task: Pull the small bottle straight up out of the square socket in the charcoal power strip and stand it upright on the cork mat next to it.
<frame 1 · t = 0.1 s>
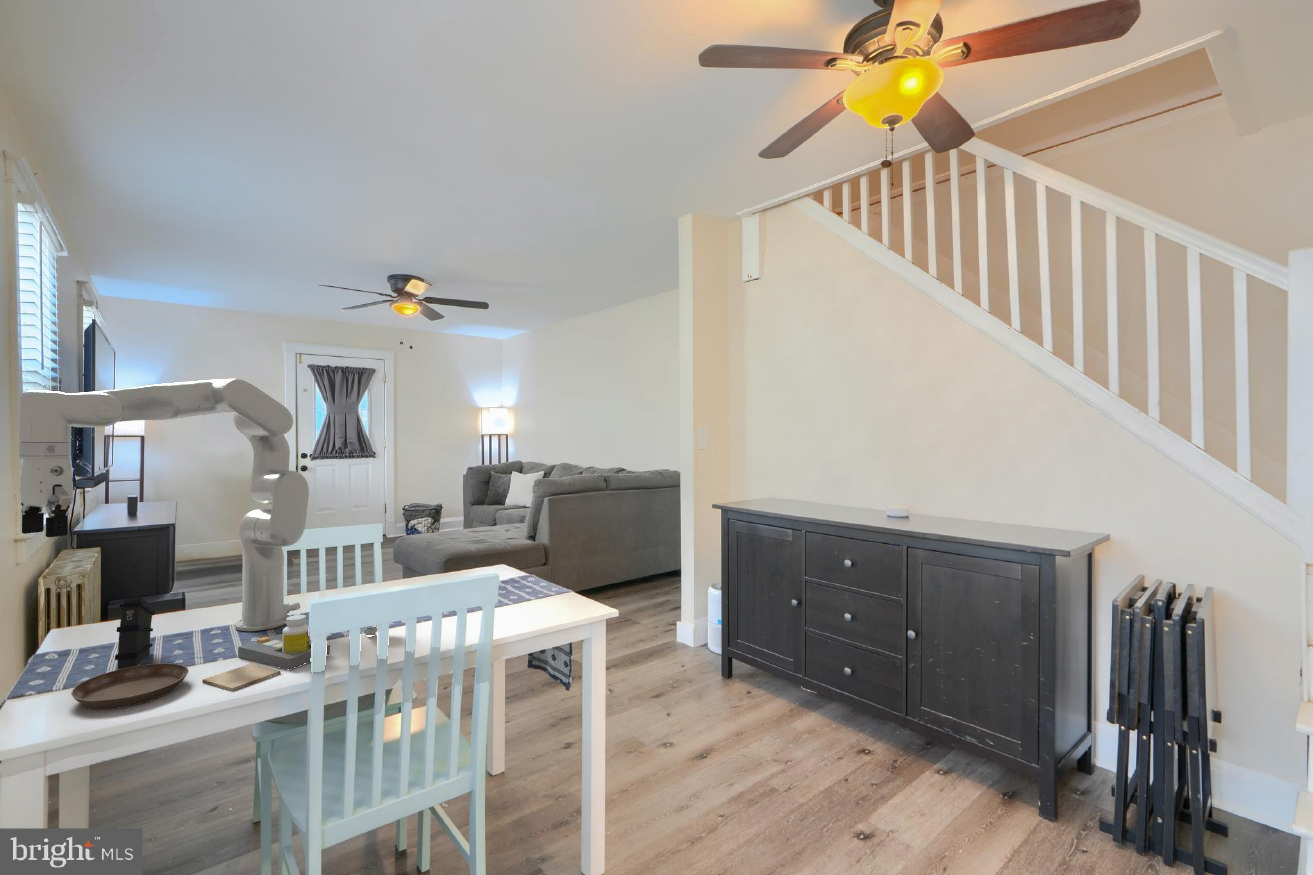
hand: (44, 534, 123), 31 cm above the table, tool pointing down, fingers open, 9 cm apart
power strip: (284, 656, 141), on the table
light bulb: (370, 636, 156), on the table
cork mat: (242, 677, 128), on the table
plant saucer: (132, 695, 120), on the table
supplement bottle: (295, 660, 139), resting in power strip
magazine: (135, 661, 138), on the table
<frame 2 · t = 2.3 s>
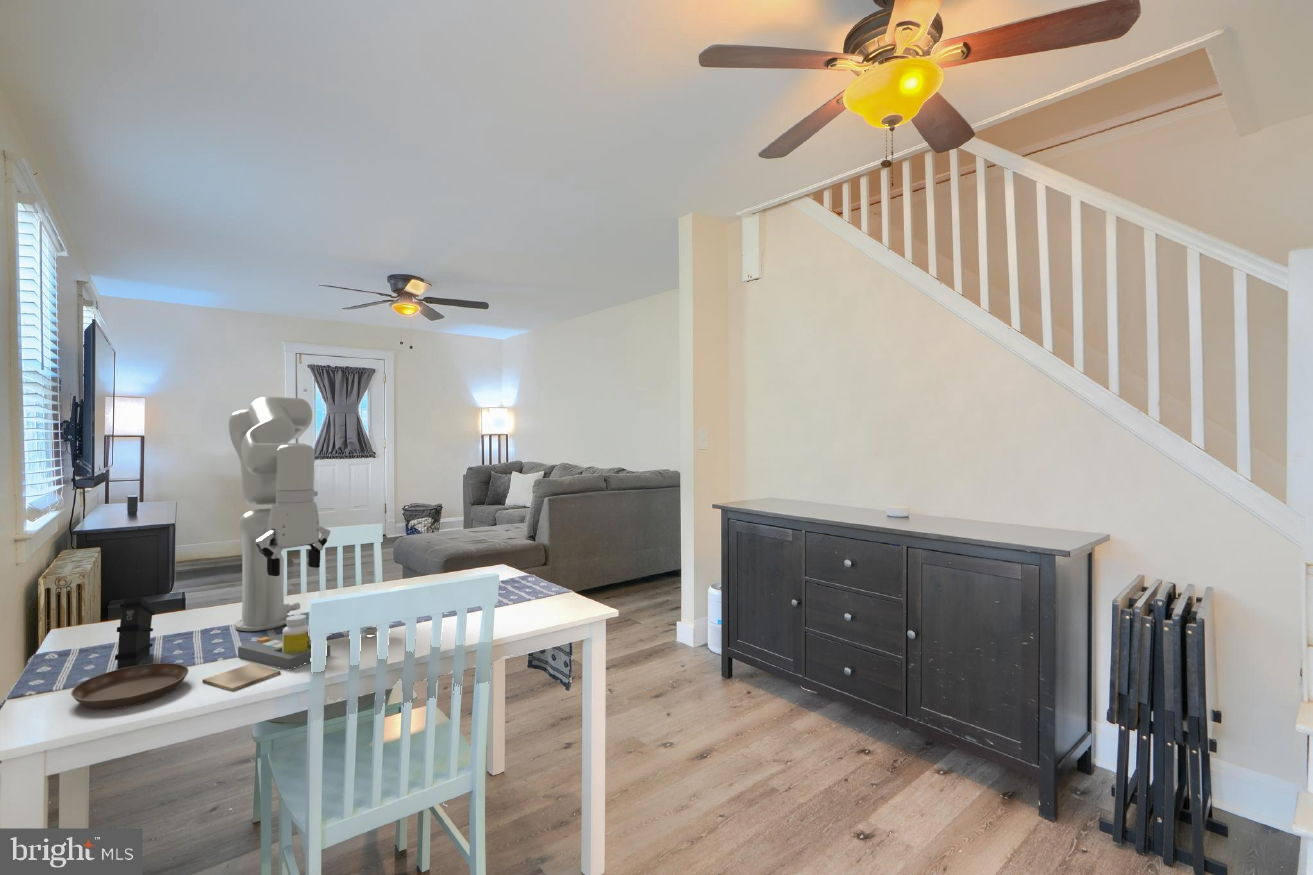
hand: (294, 571, 139), 21 cm above the table, tool pointing down, fingers open, 9 cm apart
nothing on the table moved.
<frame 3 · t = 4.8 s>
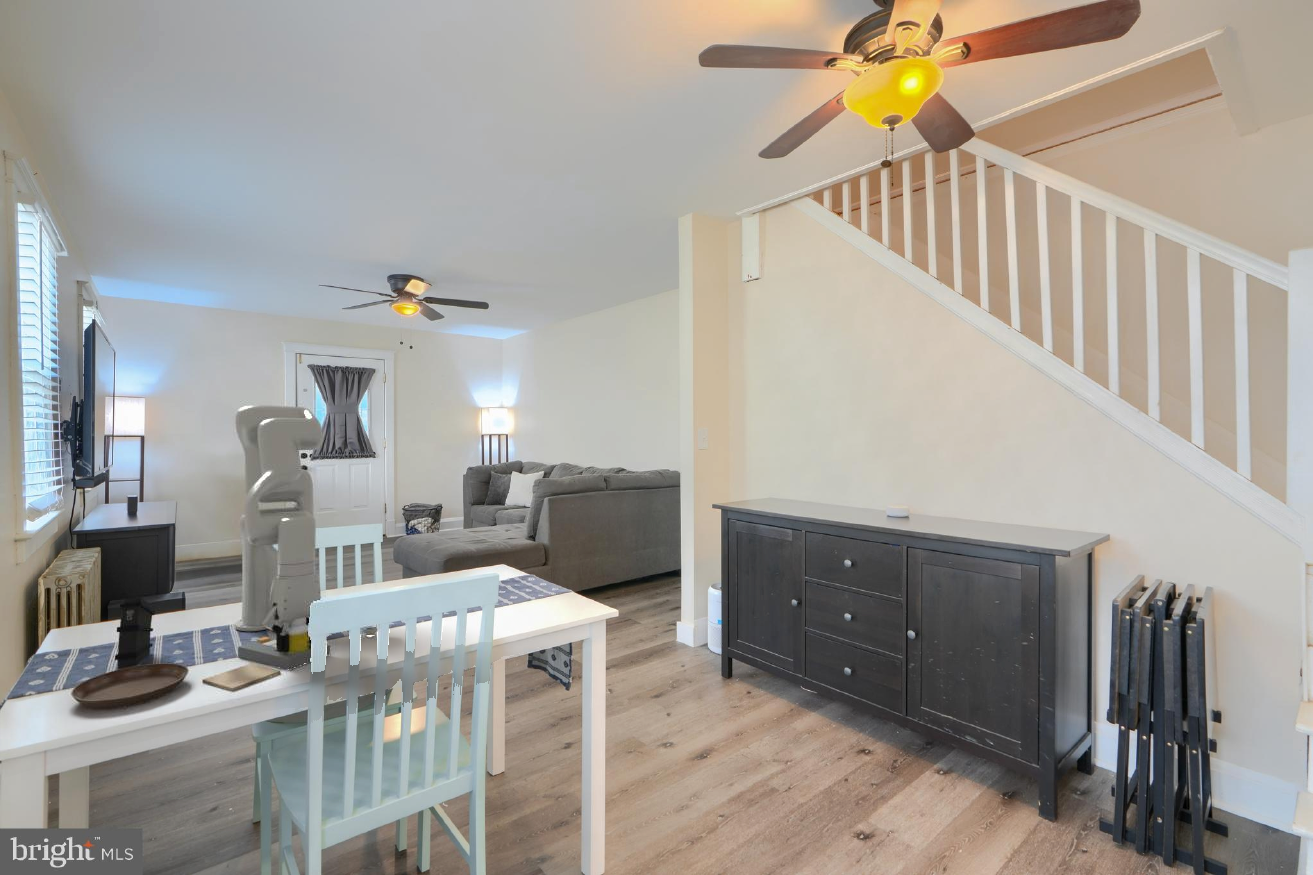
hand: (295, 646, 139), 3 cm above the table, tool pointing down, fingers closed on supplement bottle, 5 cm apart
supplement bottle: (295, 660, 139), resting in power strip, touching gripper
everything else where it was.
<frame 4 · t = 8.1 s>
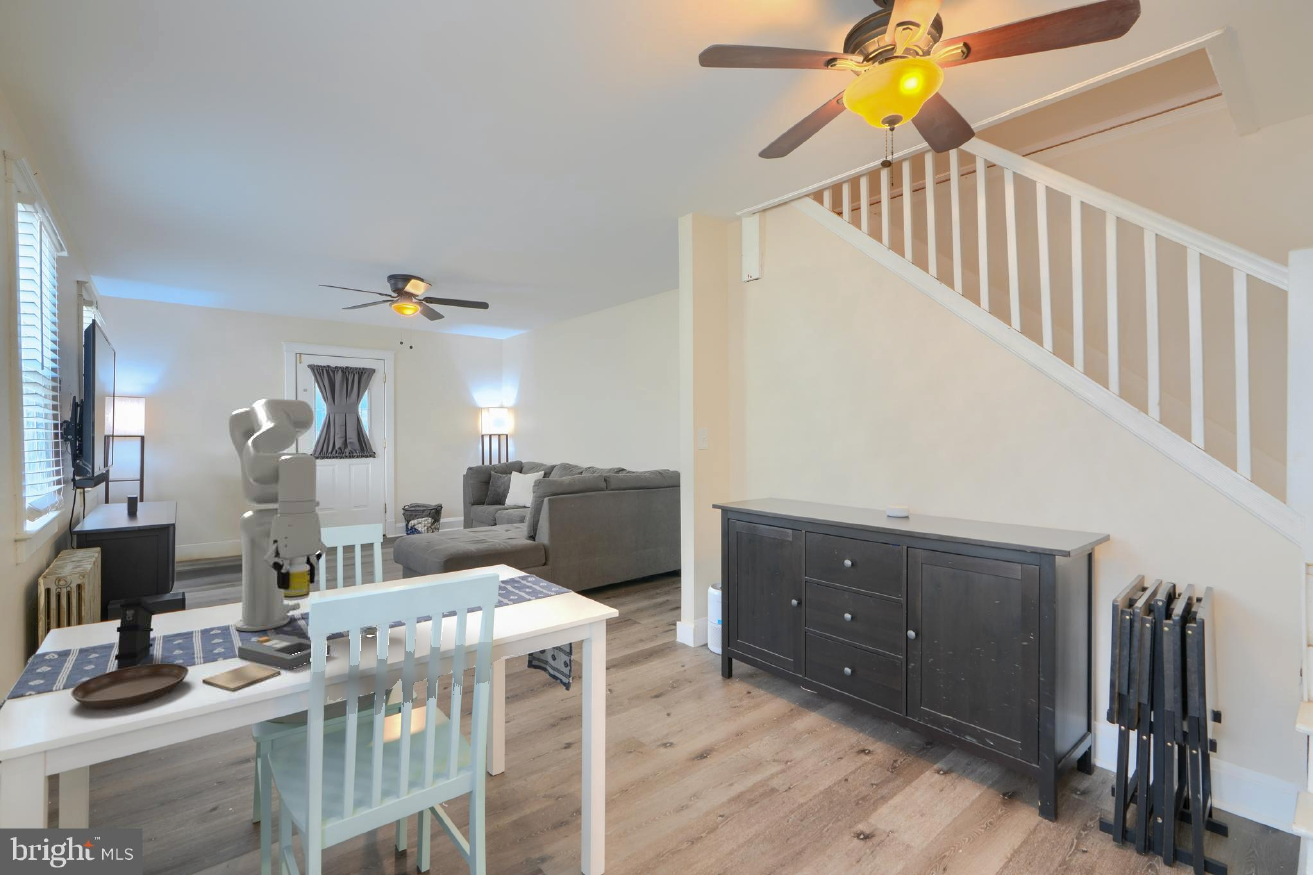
hand: (296, 584, 139), 17 cm above the table, tool pointing down, fingers closed on supplement bottle, 5 cm apart
supplement bottle: (296, 598, 139), point 14 cm above the table, touching gripper
everything else where it was.
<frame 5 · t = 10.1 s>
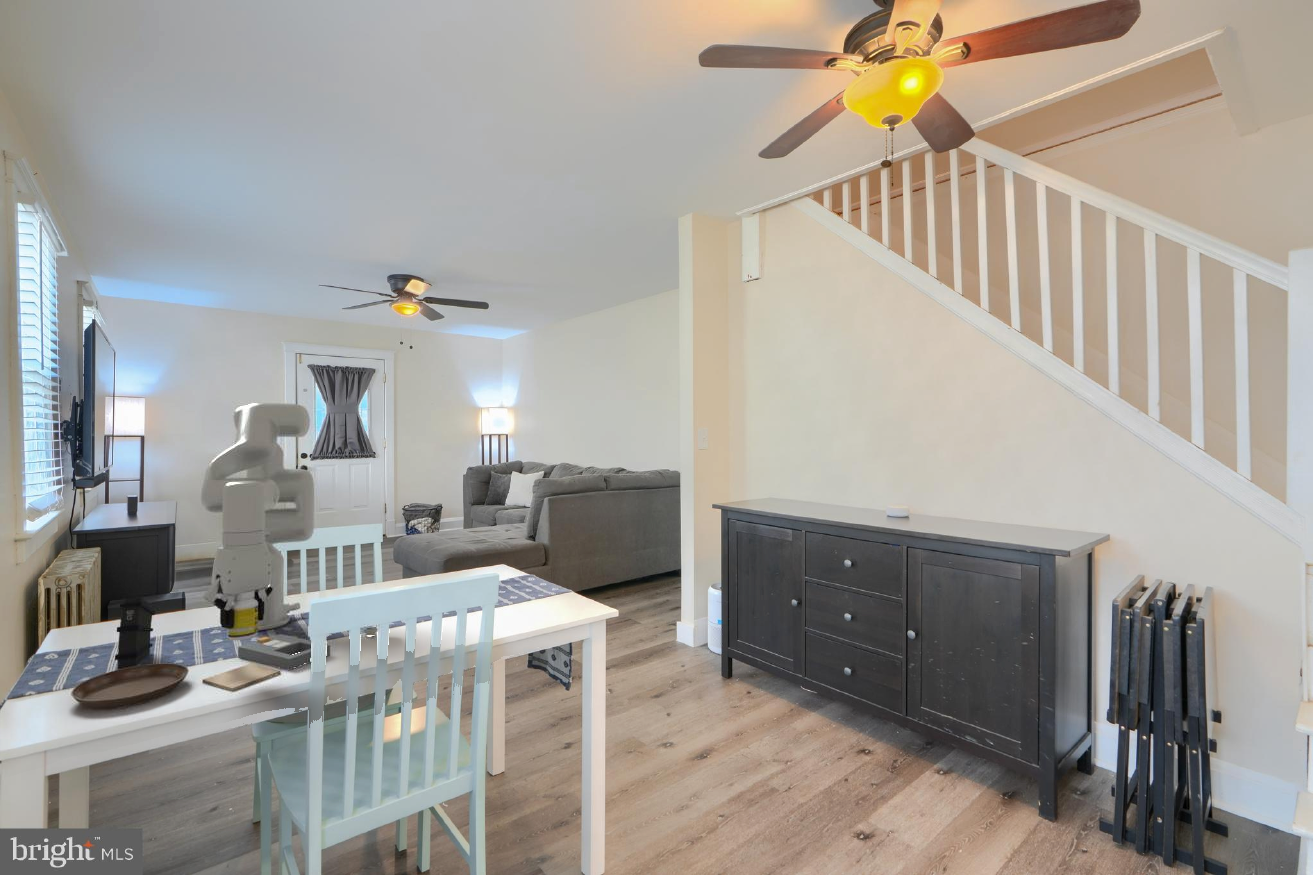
hand: (242, 622, 128), 12 cm above the table, tool pointing down, fingers closed on supplement bottle, 5 cm apart
supplement bottle: (242, 637, 128), point 9 cm above the table, touching gripper
everything else where it was.
when the fingers open (5 cm above the table, at t = 11.7 s): supplement bottle drops 1 cm, resting on cork mat.
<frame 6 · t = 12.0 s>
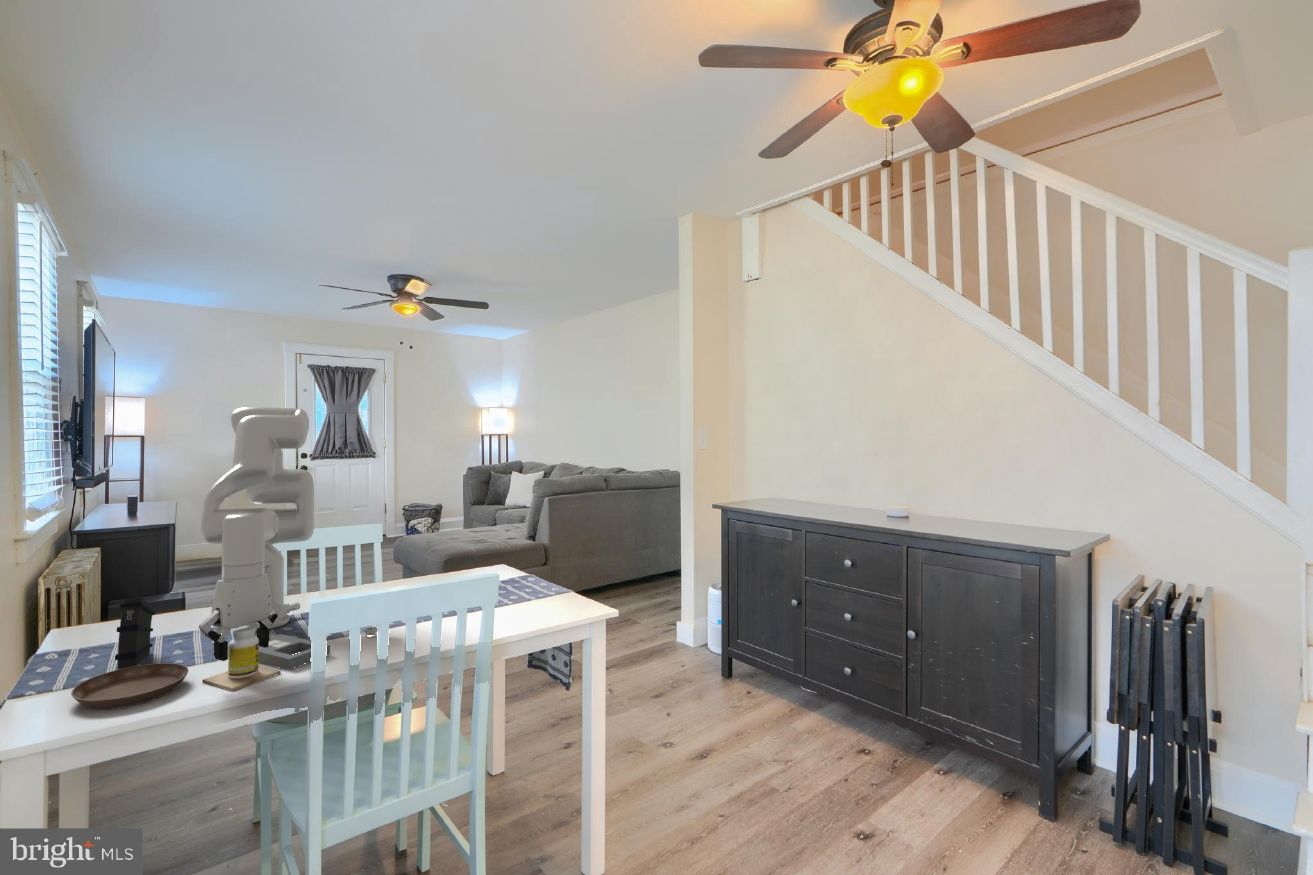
hand: (242, 652, 128), 5 cm above the table, tool pointing down, fingers open, 8 cm apart
supplement bottle: (243, 675, 129), resting on cork mat
everything else where it was.
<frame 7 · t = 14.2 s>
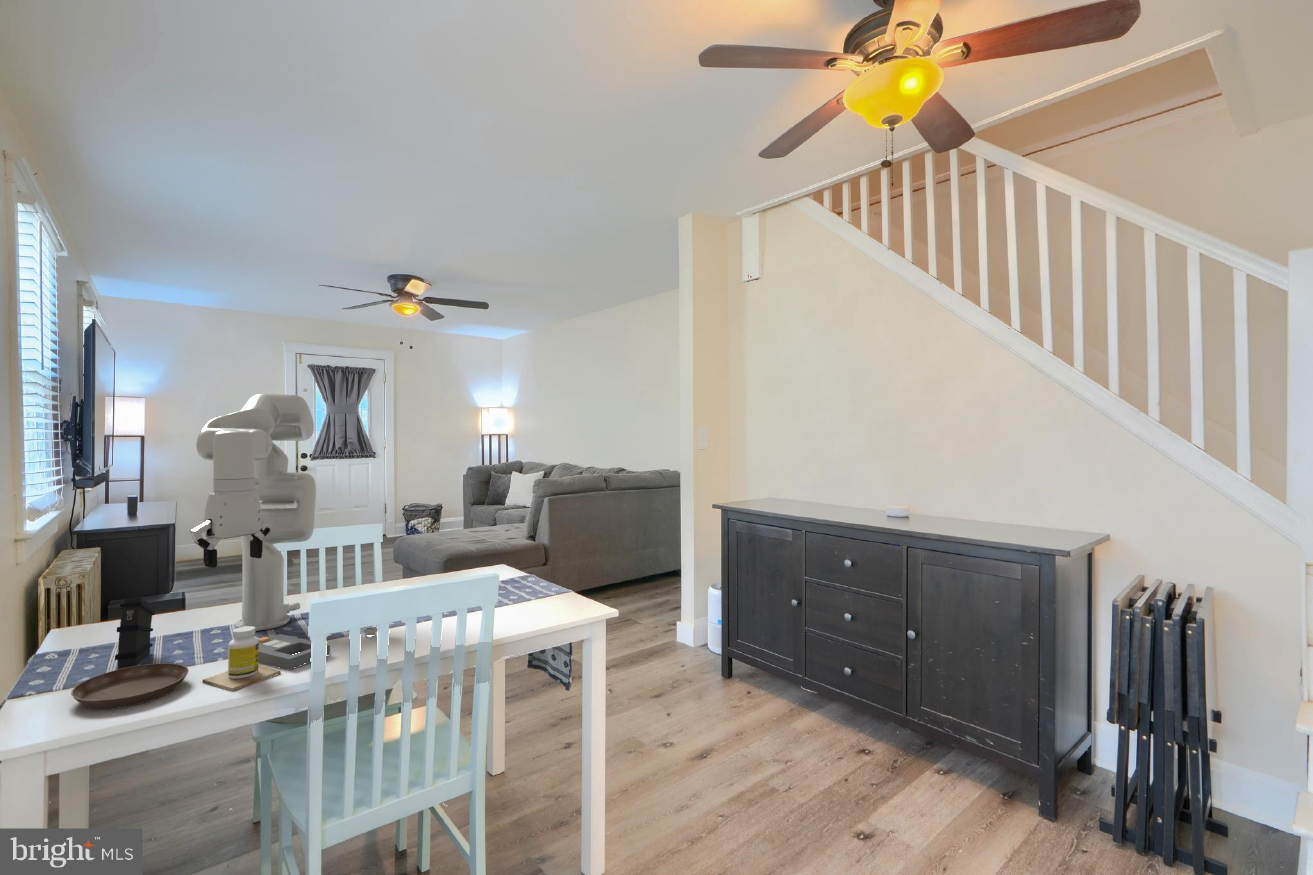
hand: (234, 562, 134), 24 cm above the table, tool pointing down, fingers open, 9 cm apart
nothing on the table moved.
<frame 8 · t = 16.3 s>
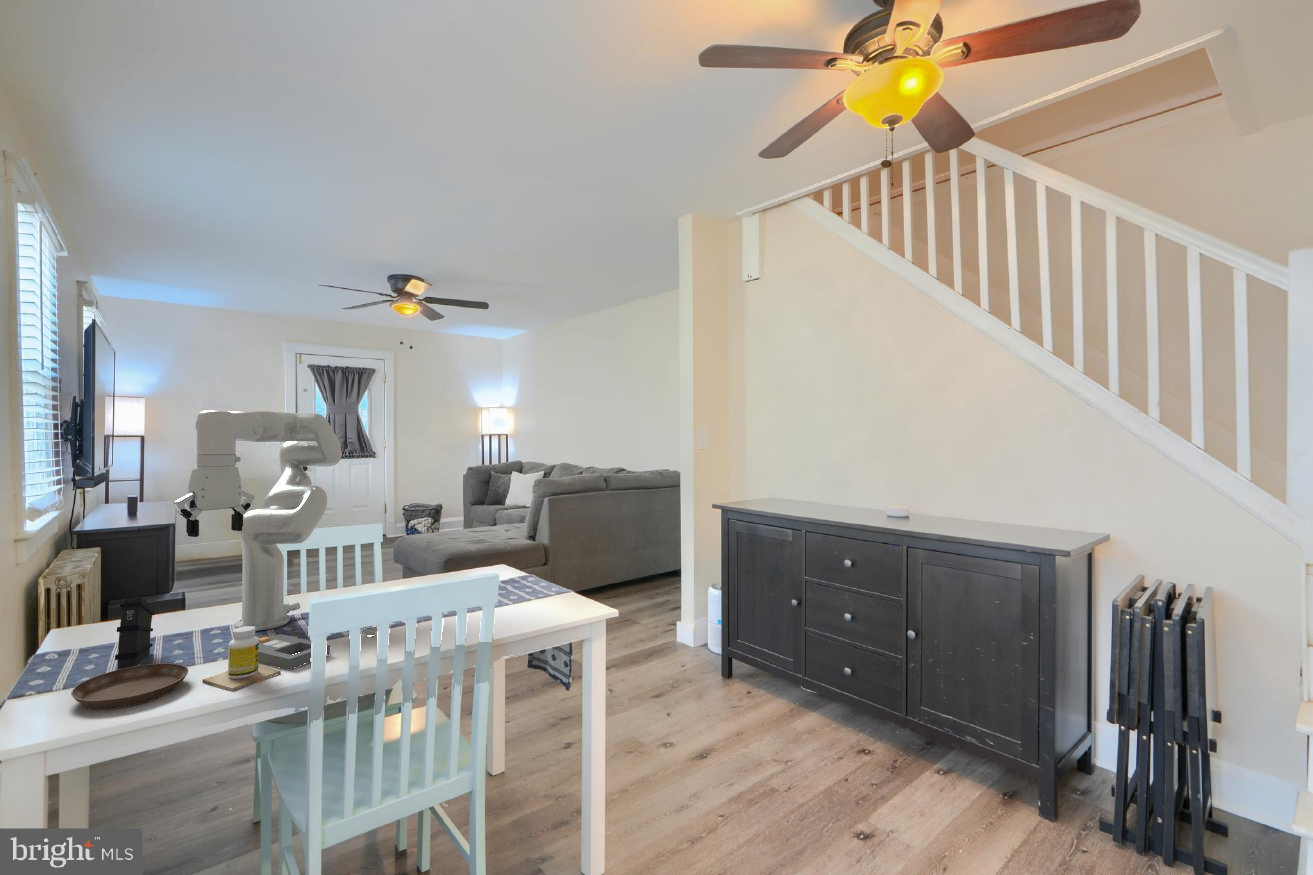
hand: (215, 533, 144), 28 cm above the table, tool pointing down, fingers open, 9 cm apart
nothing on the table moved.
at the end: supplement bottle inside the target area on the cork mat (0.3 cm from its centre), point 0.4 cm above the cork mat's base; supplement bottle tilted 0°; supplement bottle touching cork mat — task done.
